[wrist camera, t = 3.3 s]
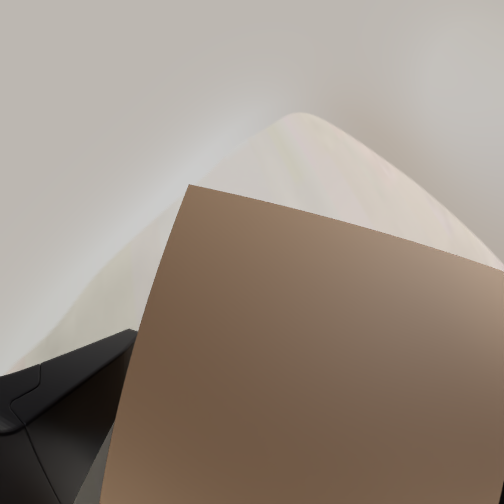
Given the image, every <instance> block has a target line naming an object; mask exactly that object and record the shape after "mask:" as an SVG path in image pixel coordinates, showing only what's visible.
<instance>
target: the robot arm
mask: <svg viewBox="0 0 504 504" xmlns="http://www.w3.org/2000/svg"><path fill="white" fill-rule="evenodd" d="M137 334H138V331H134V330H131V329H127V330H124V331H122V332H119V333H117V334H114V335H112V336H109V337H107V338H104V339H102V340H99V341H97V342H94V343H92V344H89V345H87V346H84V347H82V348H79V349H76V350H74V351H71V352H69V353H66V354H64V355H61V356H58V357H56V358H53V359H51V360H48V361H45V362H43V363H41V365H40V364H37V365H35V366H32V367H29V368H26V369H24V370H21V371H18V372H15V373H11V374H8V375H4V376H1V377H0V504H73V502H74V500H75V498H76V496H77V494H78V492H79V490H80V488H81V486H82V484H83V482H84V480H85V478H86V476H87V474H88V471H89V469H90V467H91V466H92V464H93V462H94V460H95V458H96V456H97V454H98V452H99V450H100V448H101V446H102V444H103V442H104V440H105V438H106V436H107V434H108V432H109V430H110V428H111V427H112V425H113V423H114V421H115V418H116V414H117V410H118V406H119V401H120V397H121V393H122V389H123V385H124V381H125V377H126V374H127V370H128V366H129V362H130V359H131V355H132V351H133V348H134V344H135V341H136V337H137ZM499 504H504V482H503V487H502V491H501V496H500V500H499Z"/></svg>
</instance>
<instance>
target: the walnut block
mask: <svg viewBox="0 0 504 504" xmlns="http://www.w3.org/2000/svg"><path fill="white" fill-rule="evenodd" d="M503 482H504V272H503V271H501V270H498V269H495V268H492V267H489V266H486V265H483V264H481V263H478V262H475V261H472V260H469V259H466V258H463V257H460V256H457V255H454V254H450V253H447V252H444V251H441V250H438V249H435V248H432V247H428V246H425V245H422V244H419V243H416V242H412V241H409V240H406V239H402V238H399V237H396V236H392V235H389V234H385V233H382V232H378V231H375V230H372V229H368V228H364V227H361V226H357V225H354V224H350V223H346V222H343V221H339V220H335V219H332V218H328V217H324V216H320V215H317V214H313V213H309V212H305V211H301V210H297V209H293V208H289V207H285V206H281V205H277V204H273V203H269V202H265V201H261V200H256V199H252V198H248V197H244V196H239V195H235V194H230V193H226V192H222V191H217V190H212V189H208V188H203V187H199V186H194V185H189V186H188V188H187V191H186V193H185V196H184V199H183V201H182V204H181V206H180V209H179V212H178V214H177V217H176V220H175V222H174V225H173V228H172V230H171V233H170V236H169V239H168V241H167V244H166V247H165V250H164V253H163V256H162V259H161V261H160V264H159V267H158V270H157V273H156V276H155V279H154V282H153V285H152V288H151V292H150V295H149V298H148V301H147V304H146V307H145V311H144V314H143V317H142V320H141V324H140V327H139V330H138V334H137V337H136V341H135V344H134V348H133V351H132V355H131V359H130V362H129V366H128V370H127V374H126V377H125V381H124V385H123V389H122V393H121V397H120V401H119V406H118V410H117V414H116V418H115V423H114V427H113V432H112V437H111V441H110V446H109V451H108V456H107V461H106V467H105V472H104V478H103V483H102V489H101V496H100V502H99V504H499V500H500V496H501V491H502V487H503Z"/></svg>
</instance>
